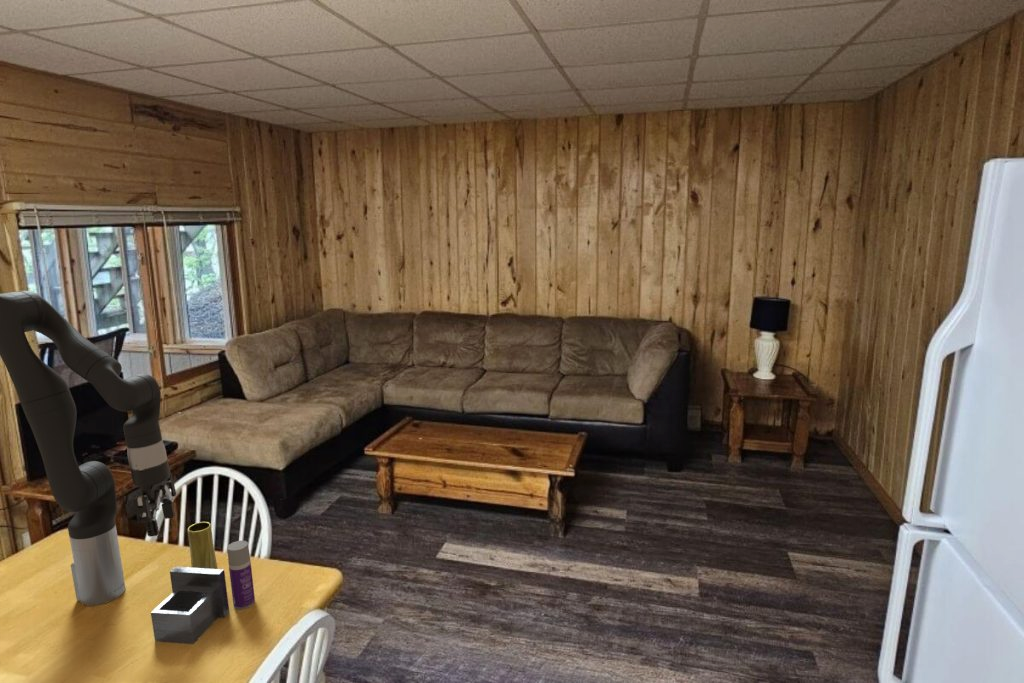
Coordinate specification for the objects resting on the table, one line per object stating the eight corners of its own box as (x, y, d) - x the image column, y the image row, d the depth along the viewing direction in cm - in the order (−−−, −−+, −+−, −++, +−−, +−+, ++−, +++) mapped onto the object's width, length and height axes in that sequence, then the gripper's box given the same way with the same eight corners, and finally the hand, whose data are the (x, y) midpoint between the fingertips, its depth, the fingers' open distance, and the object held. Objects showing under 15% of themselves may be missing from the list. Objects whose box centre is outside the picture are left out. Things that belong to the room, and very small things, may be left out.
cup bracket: (148, 640, 133) (141, 595, 131) (181, 609, 144) (175, 566, 142) (200, 644, 132) (193, 598, 130) (229, 612, 143) (224, 569, 140)
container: (247, 610, 143) (240, 551, 140) (229, 608, 144) (222, 549, 141) (259, 598, 148) (252, 541, 145) (241, 596, 149) (235, 539, 146)
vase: (186, 582, 155) (179, 530, 152) (206, 569, 160) (200, 519, 158) (204, 587, 153) (197, 534, 150) (224, 574, 158) (218, 523, 155)
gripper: (146, 452, 148) (158, 514, 151) (115, 476, 134) (130, 544, 137) (178, 448, 148) (190, 510, 152) (151, 471, 134) (165, 539, 138)
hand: (161, 526), depth 144 cm, fingers open, 8 cm apart
